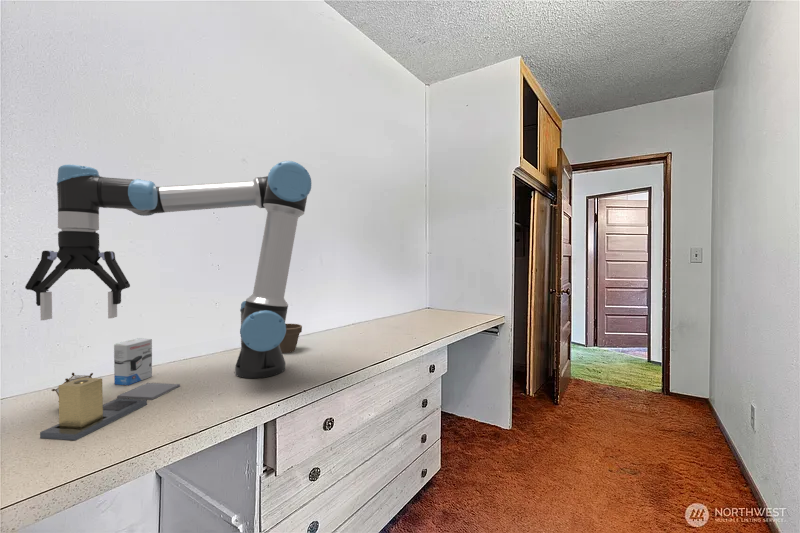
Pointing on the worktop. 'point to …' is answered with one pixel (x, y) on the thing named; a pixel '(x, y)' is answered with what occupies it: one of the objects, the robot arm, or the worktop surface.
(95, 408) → the brass block with hole
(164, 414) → the worktop surface
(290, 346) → the flower pot
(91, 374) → the game die
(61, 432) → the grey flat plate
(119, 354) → the ink box
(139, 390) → the pad
